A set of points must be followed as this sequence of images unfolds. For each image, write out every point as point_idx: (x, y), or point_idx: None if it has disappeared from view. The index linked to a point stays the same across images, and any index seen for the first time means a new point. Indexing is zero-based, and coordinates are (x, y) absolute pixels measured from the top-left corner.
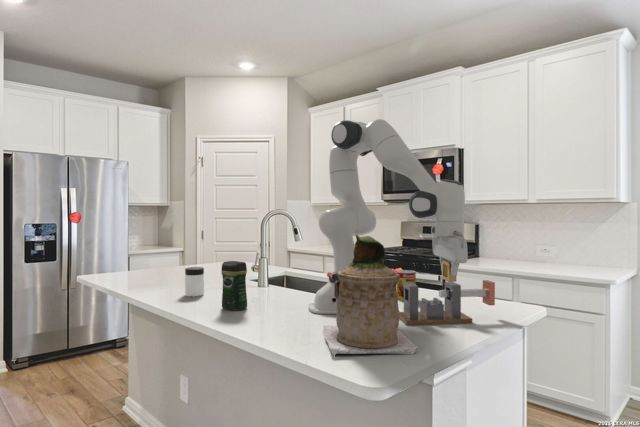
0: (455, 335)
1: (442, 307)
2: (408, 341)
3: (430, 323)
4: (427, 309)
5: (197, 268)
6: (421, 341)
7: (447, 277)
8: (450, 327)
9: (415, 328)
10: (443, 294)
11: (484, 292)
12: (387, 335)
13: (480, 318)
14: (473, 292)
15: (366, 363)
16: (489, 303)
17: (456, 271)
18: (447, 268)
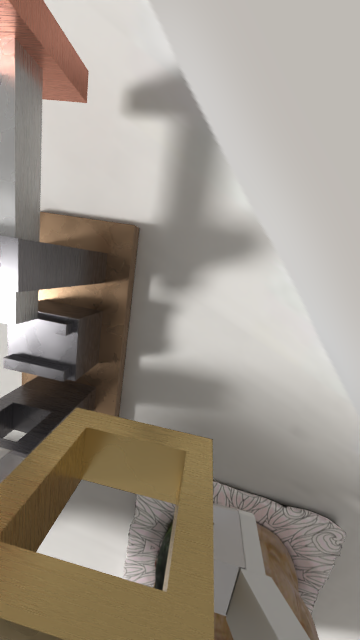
0: (240, 355)
1: (84, 322)
2: (281, 515)
3: (124, 361)
4: (84, 372)
5: None
6: (256, 460)
7: (157, 493)
8: (164, 322)
9: (149, 414)
10: (28, 311)
11: (26, 72)
12: (301, 598)
13: (92, 161)
14: (24, 146)
15: (346, 619)
16: (82, 95)
17: (258, 558)
18: (43, 504)
